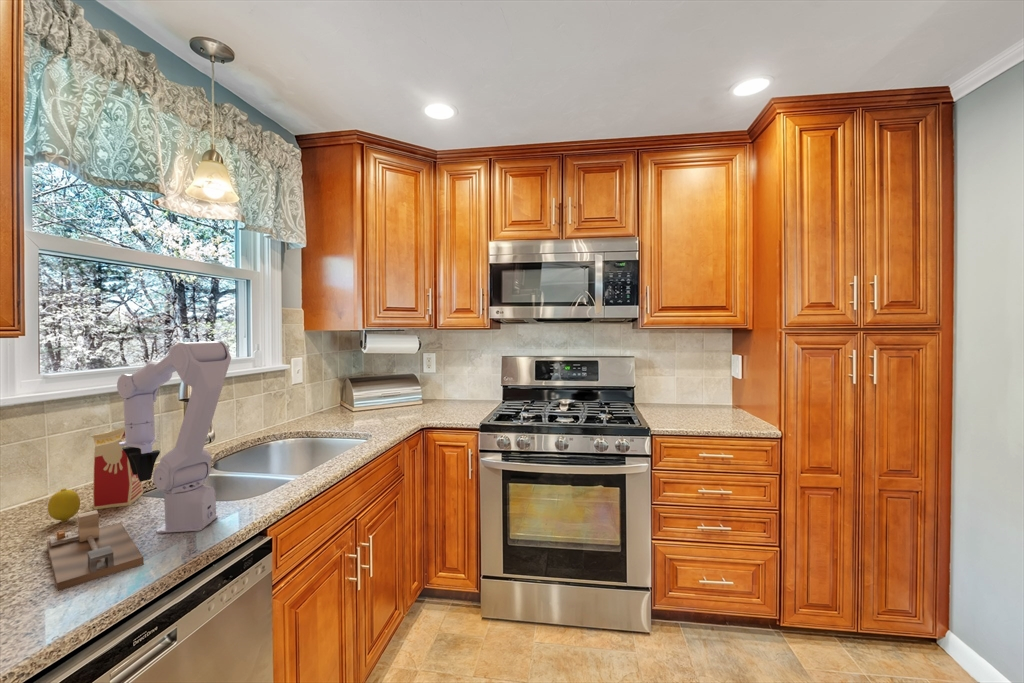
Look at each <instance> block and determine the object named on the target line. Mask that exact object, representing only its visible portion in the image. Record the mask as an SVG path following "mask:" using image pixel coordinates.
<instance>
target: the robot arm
mask: <svg viewBox="0 0 1024 683" xmlns="http://www.w3.org/2000/svg"><path fill="white" fill-rule="evenodd" d="M231 360H232V356H231V353H230V351H229V348H228V346H227V344H226V343H225V342H224V341H222V340H213V341H196V342H194V341H192V342H191V341H190V342H184V341H178V342H176V343H175V344H173V345H171V346H170V347H169V353H168V354H167V355H166V356H164V357H163V358H162V359H161V360H156V359H154V360H148V361H147V362H146V364H145V365H144V366H143V367H141V368H138V369H137V370H136V371H135V372H134V373H132V374H128V373H123V374H121V375H120V376H119V377H118V379H117V382H116V383H117V384H116V388H117V390H116V391H117V393H118V395H119V396H120V397H121V398H122V399H123V416H124V418H123V420H124V424H123V425H124V427H125V442H120V443H119V446H128V447H123V448H122V449H123V451H124V452H125V453H126V455H127V457H128V460H129V463H130V467H131V470H132V473H133V475H136V474H137V475H138V479H139V481H140V482H142V483H143V482H145V481H146V482H147V481H150V480H151V479H152V480H153V485H154V486H155V488H156V489H157V490H158V491H159V492H162V493H163V497H164V498H163V499H164V500H163V502H164V525H163V526H161V527H159V528H158V529H157V530H155V533H156V534H161V533H162V534H163V533H184V532H199V531H202V530H203V529H204V528H206V527H207V526H208V525H210V524H211V523H212V522H213V521H215V520H216V519H217V518H218V517H219V514H217V500H216V490H215V488H214V487H213V486H209V485H208V486H207V485H205V484H206V480H207V479H209V477H210V474H211V471H212V470H211V468H212V467H211V461H212V459H213V458H212V455H211V453H210V452H209V451H208V450H207V449H206V448H205V444H206V440H207V438H208V434H209V432H210V428H211V425H212V422H213V418H214V415H215V412H216V408H217V406H218V402H219V400H220V396H221V393H222V390H223V386H224V385H223V384H224V380H226V376H227V372H228V370H229V366H230V364H231ZM174 372H177V375H178V376H179V378H180V380H181V381H182V383H183V384H184V385H187V386H189V387H191V388H192V389H191V392H190V395H189V399H188V403H187V406H186V408H185V412H184V416H183V419H182V423H181V426H180V429H179V432H178V436H177V440H176V443H175V447H173V448H172V449H171V450H170V451H169V452H167V453H165V454H164V455H162V457H161V458H160V461H159V463H158V464H157V466H156V467H155V464H156V461H157V459H158V457H159V455H160V453H161V450H159V449H157V450H153V445H154V444H155V443H156V442H157V438H156V431H155V430H156V428H155V426H156V425H155V404H154V403H156V401H157V394H158V392H159V388H160V387H161V386H163V385H164V384H165V383H168V382H169V381H170V380H171V379H172V377H173V373H174ZM154 467H155V468H154Z"/></svg>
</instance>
